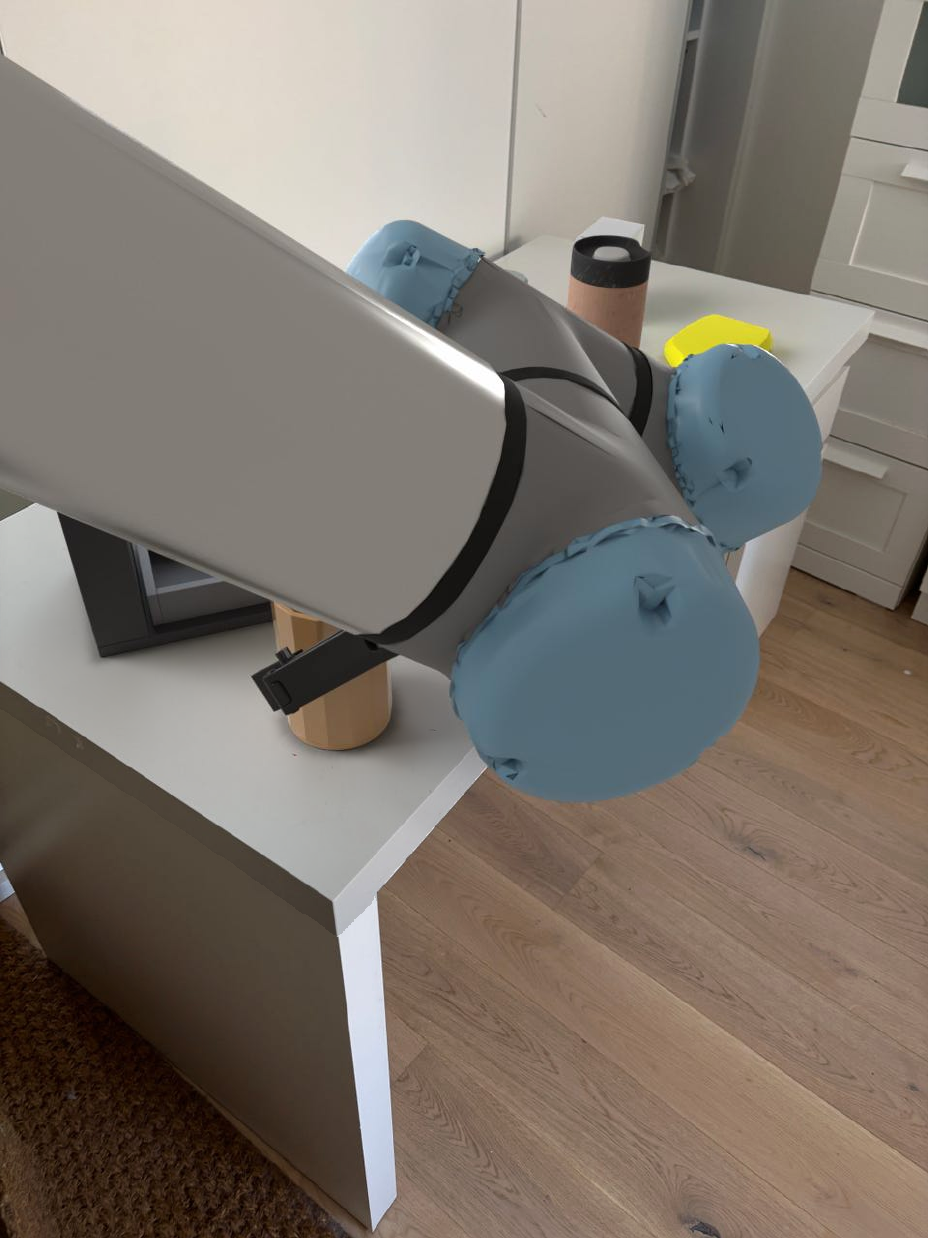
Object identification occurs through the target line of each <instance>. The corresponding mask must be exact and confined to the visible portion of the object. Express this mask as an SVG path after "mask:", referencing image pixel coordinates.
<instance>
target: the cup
mask: <svg viewBox="0 0 928 1238" xmlns="http://www.w3.org/2000/svg"><path fill="white" fill-rule="evenodd" d="M270 603H271V610H272V617H273V620H272V623H273V631H274V638H275V644H276V653H277V652H279V651H280V650H282V649H283V648H285V647H288V648H289V650H290V651H291V653H294V652H296V651H298V650H300V649H302V650H303V651H305V650H307V649H308V648H310V647H312V646H313V645H315V644H317V643H318V642H320V641H322V640H323V639H325V638H327V637H328V636H330V635H332V634H333V633H335V632H337V631H338V630H340V628H337V627H335V626H332V625H330V624H328V623H325V622H323V621H320V620H318V619H315V618H313V617H311V616H308V615H306V614H303V613H301V612H299V611H296V610H294V609H291V608H289V607H286V606H284V605H282V604H279V603H277V602H274V601H272V600H270ZM391 660H392V659H390V660H388V661H386V662H384V663H382V664H380V665H378V666H376V667H374V668H372V669H370V670H369V671H367V672H365V673H363V674H361V675H359V676H358V677H356V678H354V679H352V680H350V681H349V682H347V683H345V684H343V685H341V686H339V687H338V688H336V689H334V690H332V691H330V692H328V693H327V694H325V695H323V696H321V697H319V698H317V699H316V700H314V701H312V702H310V703H308V704H306V705H305V706H303V707H301V708H299V709H300V710H299V711H297V712H296V713H294V714H292V713H291V714H290V715H286V717H287V722H288V726H289V728H290V730H291V731H292V733H293V734H294V736H296V737H297V738H298V739H299V740H300V741H302V742H303V743H305V744H307V745H309V746H311V747H312V748H313V747H314V748H317V749H319V750H320V749H322V750H327V751H344V750H351V749H354V748H358V747H361V746H363V745H366V744H368V743H370V742H371V741H373V740H374V739H376V738H377V737H378V736H379V735H381V734H382V733H383V732H384V731H385V729H386V728H387V726H388V725H389V722H390V720H391V717H392V708H393V707H392V706H393V688H392V687H393V683H392V661H391Z"/></svg>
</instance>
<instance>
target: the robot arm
mask: <svg viewBox="0 0 928 1238" xmlns="http://www.w3.org/2000/svg"><path fill="white" fill-rule="evenodd" d="M485 256H486V251H483V250H481V249H479V247H473V248H469V247H468V246H466V245H464V244H462V243H459V242H457V241H456V240H453V239H451V238H450V237H448V236H446V235H444V234H442V233H440V232H438V231H436V230H434V229H432V228H430V227H428V226H427V225H425V224H423V223H421V222H419V221H416V220H412V219H397V220H394V221H391V222H388V223H387V224H384V225H383V226H382V227H380V228H379V229H377V230H376V231H375V232H374V233H372V234H371V235H370V236H369V237H368V238H367V239H366V240H365V242H364V243H363V244H362V245H361V247H360V248H359V249H358V251H356V253H355V254H354V256H353V257H352V259H351V260H350V262H349V263H348V265H347V267H346V268H345V270H343V269H341V268H340V267H338V266H337V265H335V264H333V263H332V262H330V261H329V260H328V259H325V258H324V257H323V256H322V255H321V256H320V255H319V254H318V253H316V252H314V251H313V250H311V249H310V248H308V247H307V246H305V245H304V244H302V243H300V242H299V241H297V240H295V239H294V238H293V237H291V236H289V235H288V234H286V233H284V232H283V231H281V230H280V229H278V228H277V227H275V226H274V225H272V224H270V223H269V222H267V221H265V220H264V219H263V218H261V217H259V216H258V215H257V214H255V213H253V212H252V211H250V210H248V209H247V208H246V207H243V206H242V205H241V204H239V203H237V202H236V201H234V200H232V199H231V198H229V196H226V195H225V194H223V193H221V192H220V191H218V190H217V189H215V188H214V187H212V186H210V185H209V184H207V183H206V182H204V181H202V180H201V179H199V178H197V176H195V175H194V174H192V173H190V172H189V171H187V170H185V169H183V168H182V167H181V166H179V165H177V164H176V163H174V162H173V161H172V160H170V159H168V158H166V156H163V155H162V154H160V153H159V152H157V151H155V150H154V149H152V148H151V147H149V146H147V145H146V144H144V143H143V142H141V141H140V140H138V139H136V138H135V137H134V136H132V135H130V134H129V133H127V132H125V131H123V130H122V129H121V128H119V127H117V126H116V125H114V124H113V123H112V122H110V121H108V120H106V119H105V118H103V117H102V116H101V115H98V114H97V113H95V111H92V110H91V109H89V108H87V107H86V106H84V104H83V105H82V104H81V103H80V102H78V101H77V100H75V99H74V98H71V97H70V96H68V95H67V94H65V93H64V92H62V91H61V90H59V89H58V88H56V87H54V86H53V85H51V84H50V83H48V82H46V81H45V80H43V79H42V78H40V77H38V76H37V75H36V74H34V73H32V72H31V71H29V70H27V69H26V68H24V67H22V66H21V65H20V64H19V63H17V62H15V61H13V60H12V59H10V58H8V57H7V56H6V55H4V54H2V53H1V52H0V489H1V490H3V491H6V492H9V493H11V494H13V495H15V496H18V497H20V498H23V499H25V500H28V501H30V502H33V503H35V504H38V505H40V506H42V507H45V508H47V509H50V510H52V511H55V512H56V513H57V512H59V513H62V514H64V515H66V516H69V517H71V518H74V519H76V520H79V521H81V522H83V523H86V524H88V525H91V526H93V527H95V528H98V529H100V530H103V531H105V532H108V533H110V534H112V535H115V536H117V537H120V538H122V539H124V540H127V541H129V542H132V543H134V544H137V545H139V546H141V547H144V548H146V549H149V550H151V551H153V552H156V553H158V554H161V555H163V556H166V557H168V558H170V559H173V560H175V561H178V562H180V563H182V564H185V565H187V566H190V567H192V568H195V569H197V570H199V571H202V572H204V573H207V574H209V575H212V576H214V577H216V578H219V579H221V580H224V581H226V582H228V583H231V584H233V585H236V586H238V587H241V588H243V589H245V590H248V591H250V592H253V593H255V594H257V595H260V596H262V597H265V598H267V599H270V600H272V601H274V602H277V603H279V604H282V605H284V606H286V607H289V608H291V609H294V610H296V611H299V612H301V613H303V614H306V615H308V616H311V617H313V618H315V619H318V620H320V621H323V622H325V623H328V624H330V625H332V626H335V627H337V628H340V630H338V631H337V632H335V633H333V634H332V635H330V636H328V637H327V638H325V639H323V640H322V641H320V642H318V643H317V644H315V645H313V646H312V647H310V648H308V649H307V650H305V651H303V650H302V649H300V650H298V651H296V652H294V653H291V651H290V650H289V648H288V647H285V648H283V649H282V650H280V651H279V652H277V651H276V652H275V653H274V655H275V657H276V659H277V661H275V662H273V663H270V664H269V665H268V666H265V667H263V668H262V669H260V670H258V671H257V672H255V673H254V674H252V675H251V676H250V677H251V679H252V680H253V682H254V684H255V685H256V686H257V689H258V690H259V692H260V693H261V694H262V696H263V697H264V699H265V701H266V702H267V704H268V706H269V707H270V709H271V710H272V712H278V711H279V710H281V711H282V713H283V714H284V716H287V715H290V714H291V713H292V714H294V713H296V712H297V711H299V710H300V709H299V708H301V707H303V706H305V705H306V704H308V703H310V702H312V701H314V700H316V699H317V698H319V697H321V696H323V695H325V694H327V693H328V692H330V691H332V690H334V689H336V688H338V687H339V686H341V685H343V684H345V683H347V682H349V681H350V680H352V679H354V678H356V677H358V676H359V675H361V674H363V673H365V672H367V671H369V670H370V669H372V668H374V667H376V666H378V665H380V664H382V663H384V662H386V661H388V660H390V659H391V660H393V659H395V658H397V657H399V656H401V657H404V658H406V659H409V660H410V661H414V662H416V663H418V664H421V665H423V666H424V667H425V666H426V667H428V668H429V669H433V670H435V671H437V672H439V673H441V674H442V675H444V676H445V677H446V678H447V679H448V680H449V681H450V683H449V684H450V685H449V698H451V702H450V703H451V706H452V711H453V713H454V714H455V716H456V718H457V720H459V721H460V722H461V723H462V724H463V725H464V727H465V731H466V732H467V735H468V738H469V740H470V741H471V743H472V745H473V747H474V749H475V751H476V752H477V755H478V757H479V758H480V759H481V760H482V762H484V763H485V765H486V766H487V767H488V768H489V769H490V770H491V771H493V772H494V773H496V774H497V776H498V778H499V780H500V781H502V782H503V783H505V784H506V785H508V786H509V787H510V788H513V789H515V790H517V791H519V792H522V793H523V794H526V795H530V796H532V797H536V798H539V799H543V800H547V801H554V802H559V803H560V802H561V803H595V802H604V801H610V800H614V799H619V798H624V797H628V796H631V795H634V794H638V793H640V792H643V791H645V790H648V789H651V788H653V787H656V786H658V785H660V784H662V783H664V782H667V781H670V780H671V779H673V778H674V777H676V776H678V775H679V774H681V773H683V772H684V771H686V770H687V769H689V768H690V767H692V766H694V765H695V764H696V763H697V762H698V760H699V758H700V757H701V756H702V754H703V753H704V752H705V751H706V750H707V749H709V748H712V747H714V746H715V745H716V743H717V742H718V741H719V740H720V739H722V738H723V737H725V736H727V735H729V733H730V732H731V731H732V729H734V727H735V725H736V724H737V723H738V721H739V720H740V719H741V717H742V715H743V714H744V712H745V710H746V709H747V706H748V705H749V702H750V700H751V698H752V696H753V694H754V691H755V687H756V685H757V681H758V677H759V671H760V665H761V647H760V646H761V645H760V638H759V634H758V630H757V626H756V623H755V620H754V618H753V615H752V613H751V611H750V609H749V608H748V605H747V603H746V602H745V600H744V598H743V596H742V594H741V592H740V590H739V588H738V586H737V584H736V582H735V581H734V579H733V577H732V575H731V573H730V571H729V568H728V567H727V565H726V563H725V562H726V561H725V554H727V553H728V554H731V553H733V552H736V551H738V550H740V549H741V548H742V547H743V546H744V545H745V544H746V543H748V542H750V541H752V540H754V539H756V538H759V537H760V536H763V535H765V534H767V533H769V532H771V531H773V530H775V529H777V528H780V527H782V526H784V525H785V524H789V523H790V522H792V521H794V520H795V519H796V518H798V517H799V516H801V514H803V513H804V512H805V511H806V510H807V509H808V508H809V506H810V505H811V504H812V502H813V500H814V499H815V496H816V495H817V493H818V490H819V487H820V484H821V483H820V482H821V479H822V475H823V460H822V451H823V439H822V432H821V428H820V424H819V421H818V418H817V415H816V412H815V409H814V408H813V405H812V402H811V400H810V398H809V396H808V395H807V393H806V391H805V390H804V387H803V386H802V385H801V383H800V382H799V380H798V378H797V377H795V375H794V374H793V373H792V372H791V371H790V369H789V368H788V367H787V366H786V365H785V364H784V363H783V362H782V361H781V360H780V359H779V358H777V357H776V356H775V355H773V354H772V353H771V352H770V351H769V352H767V351H765V350H763V349H762V348H760V347H757V346H755V345H751V344H746V345H743V344H732V343H723V344H719V345H717V346H714V347H712V348H710V349H709V350H707V351H705V352H703V353H701V354H696V355H694V354H690V355H688V356H687V358H685V359H684V360H683V362H682V363H681V364H679V365H678V367H671V366H670V365H669V366H668V365H667V364H665V363H663V362H662V361H660V360H658V359H657V358H656V357H654V356H652V355H650V354H648V353H647V352H645V351H643V350H641V349H640V348H639V349H637V348H635V347H633V346H630V345H627V344H626V343H624V342H622V341H620V340H618V339H616V338H614V337H613V336H611V335H609V334H608V333H606V332H605V331H603V330H601V329H600V328H598V327H596V326H595V325H593V324H592V323H590V322H588V321H587V320H585V319H584V318H582V317H580V316H579V315H577V314H575V313H574V312H572V311H571V310H569V309H567V306H564V305H563V304H561V303H559V302H558V301H556V300H554V299H553V298H551V297H549V296H548V295H547V294H545V293H543V292H542V291H540V290H538V288H537V289H536V288H535V287H534V286H532V285H530V284H529V283H528V284H527V283H525V282H524V281H522V280H520V279H519V278H517V277H516V276H514V275H512V274H511V273H509V272H507V271H506V270H507V269H505V270H504V268H503V267H501V266H499V265H498V264H496V263H495V262H493V261H492V260H490V259H488V258H487V257H485Z"/></svg>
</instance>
